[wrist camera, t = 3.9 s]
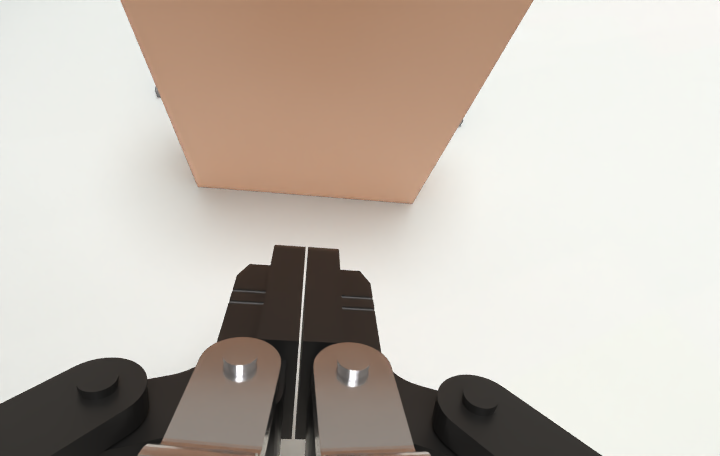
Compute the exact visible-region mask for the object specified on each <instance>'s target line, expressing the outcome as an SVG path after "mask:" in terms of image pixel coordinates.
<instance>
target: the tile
mask: <svg viewBox="0 0 720 456" xmlns="http://www.w3.org/2000/svg"><path fill="white" fill-rule="evenodd" d="M532 2H533V0H121V3H122V5H123V8H124V10H125V12H126V15H127V17H128V20H129V22H130V24H131V27H132V29H133V32H134V34H135V37H136V39H137V41H138V44H139V46H140V49H141V51H142V53H143V56H144V58H145V61H146V63H147V65H148V68H149V70H150V73H151V75H152V77H153V80H154V82H155V85H156V87H157V89H158V92H159V94H160V97H161V99H162V101H163V104H164V106H165V109H166V111H167V113H168V116H169V118H170V121H171V123H172V125H173V128H174V130H175V133H176V135H177V137H178V140H179V142H180V145H181V147H182V149H183V152H184V154H185V157H186V159H187V162H188V164H189V166H190V169H191V171H192V174H193V176H194V178H195V181H196V183H197V186H198V187H209V188H222V189H235V190H247V191H260V192H272V193H285V194H297V195H310V196H322V197H335V198H347V199H360V200H372V201H385V202H398V203H410V204H412V203H413V202H414V200H415V198H416V197H417V195H418V193H419V192H420V190H421V188H422V187H423V185H424V183H425V182H426V180H427V178H428V177H429V175H430V173H431V171H432V170H433V168H434V166H435V165H436V163H437V161H438V160H439V158H440V156H441V155H442V153H443V151H444V150H445V148H446V146H447V145H448V143H449V141H450V140H451V138H452V136H453V135H454V133H455V131H456V129H457V128H458V126H459V124H460V123H461V121H462V119H463V118H464V116H465V114H466V113H467V111H468V109H469V108H470V106H471V104H472V103H473V101H474V99H475V98H476V96H477V94H478V93H479V91H480V89H481V87H482V86H483V84H484V82H485V81H486V79H487V77H488V76H489V74H490V72H491V71H492V69H493V67H494V66H495V64H496V62H497V61H498V59H499V57H500V56H501V54H502V52H503V51H504V49H505V47H506V45H507V44H508V42H509V40H510V39H511V37H512V35H513V34H514V32H515V30H516V29H517V27H518V25H519V24H520V22H521V20H522V19H523V17H524V15H525V14H526V12H527V10H528V9H529V7H530V5H531V3H532Z"/></svg>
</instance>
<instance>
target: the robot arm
mask: <svg viewBox="0 0 720 456" xmlns="http://www.w3.org/2000/svg"><path fill="white" fill-rule="evenodd" d="M304 261H305V247H298V246H284V245H275V246H274V251H273V256H272V261H271V265H256V264H249V265H248V266H247V267H246V268H245V269H244V270H243V271H241V272H240V273H239V274H238V275H237V277H236V280H235V284H234V287H233V292H232V294H231V297H230V302H229V304H228V307H227V310H226V314H225V317H224V320H223V324H222V327H221V330H220V334H219V337H218V340H217V343H215V344H213V345H211V346H210V347H209V348H207V349H206V350H205V351H204V352H203V353H202V355H201V357H200V358H199V361H198V363H197V365H196V367H194V368H192V369H190V370H187V371H184V372H181V373H178V374H174V375H169V376H163V377H158V378H152V379H147V376H146V372H145V371H144V369H143V368H142V367H141V366H140V365H139V364H137V363H135V362H133V361H130V360H127V359H123V358H101V359H95V360H91V361H87V362H84V363H81V364H79V365H77V366H75V367H73V368H71V369H69V370H67V371H65V372H63V373H61V374H59V375H57V376H55V377H53V378H51V379H49V380H47V381H45V382H43V383H41V384H39V385H37V386H35V387H33V388H31V389H29V390H27V391H25V392H23V393H21V394H19V395H17V396H15V397H13V398H11V399H9V400H7V401H5V402H3V403H1V404H0V456H279V453H280V443H281V439H291V438H292V424H293V411H294V398H295V385H296V372H297V358H298V345H299V331H300V317H301V303H302V289H303V275H304ZM295 439H306V444H305V456H602V455H600V454H599V453H597V452H596V451H594V450H593V449H592V448H590V447H589V446H587V445H586V444H584V443H583V442H581V441H580V440H579V439H577V438H576V437H574V436H573V435H571V434H570V433H569V432H567V431H566V430H564V429H563V428H561V427H560V426H558V425H557V424H556V423H554V422H553V421H551V420H550V419H548V418H547V417H545V416H544V415H543V414H541V413H540V412H538V411H537V410H535V409H534V408H532V407H531V406H530V405H528V404H527V403H525V402H524V401H522V400H521V399H519V398H518V397H517V396H515V395H514V394H512V393H511V392H509V391H508V390H507V389H505V388H504V387H502V386H501V385H499V384H497V383H495V382H493V381H491V380H489V379H486V378H483V377H479V376H475V375H458V376H454V377H451V378H449V379H447V380H445V381H444V382H443V383H442V384H441V385H440V387H439V389H438V391H437V390H433V389H430V388H426V387H423V386H419V385H416V384H413V383H410V382H408V381H406V380H404V379H402V378H401V377H399V376H397V375H396V374H395V373H394V372H393V371H392V367H391V365H390V362H389V361H388V359H387V358H386V357H385V356H384V355H383V354H382V353H381V349H380V342H379V336H378V329H377V323H376V317H375V311H374V304H373V300H372V291H371V284H370V283H369V281H368V280H367V279H366V278H365V277H364V276H363V274H362V273H361V272H360V271H349V270H340V260H339V249H328V248H314V247H308V257H307V270H306V282H305V295H304V308H303V322H302V337H301V352H300V368H299V383H298V399H297V414H296V430H295Z"/></svg>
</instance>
